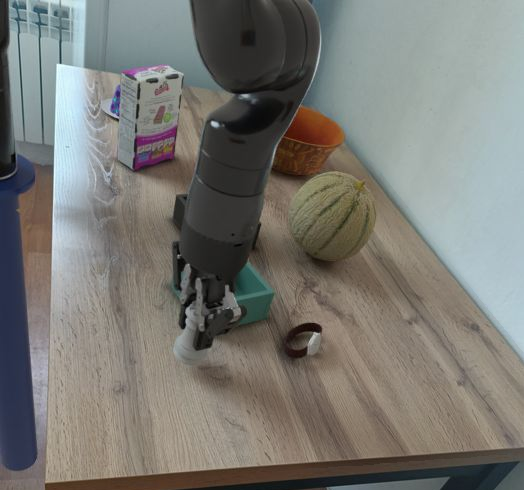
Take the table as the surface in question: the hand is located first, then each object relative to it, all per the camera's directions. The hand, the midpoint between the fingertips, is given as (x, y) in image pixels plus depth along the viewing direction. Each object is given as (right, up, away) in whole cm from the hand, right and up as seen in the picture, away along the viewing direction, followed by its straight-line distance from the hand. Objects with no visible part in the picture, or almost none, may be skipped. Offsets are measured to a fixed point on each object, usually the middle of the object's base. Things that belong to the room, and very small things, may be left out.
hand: (194, 336), depth 66 cm
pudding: (-21, +50, +52) cm, 75 cm away
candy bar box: (-14, +35, +39) cm, 55 cm away
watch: (+14, -1, +11) cm, 18 cm away
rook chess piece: (-1, -2, +2) cm, 3 cm away
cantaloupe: (+19, +16, +31) cm, 39 cm away
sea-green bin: (+2, +5, +14) cm, 15 cm away
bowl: (+13, +39, +53) cm, 67 cm away
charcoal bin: (0, +18, +26) cm, 32 cm away
